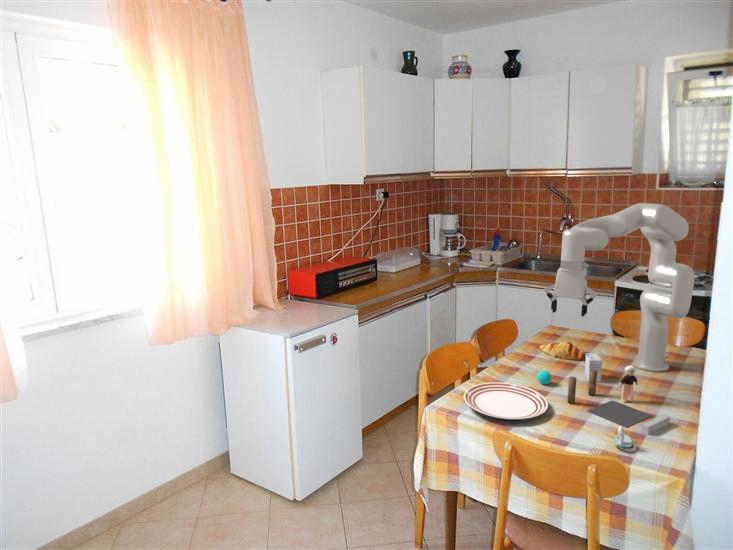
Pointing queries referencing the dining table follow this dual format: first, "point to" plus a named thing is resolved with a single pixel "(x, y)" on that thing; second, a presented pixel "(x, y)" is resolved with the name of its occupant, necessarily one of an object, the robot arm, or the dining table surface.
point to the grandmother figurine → (628, 385)
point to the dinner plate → (505, 400)
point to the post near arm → (592, 382)
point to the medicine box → (593, 365)
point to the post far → (571, 390)
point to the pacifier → (623, 440)
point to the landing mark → (619, 413)
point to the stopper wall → (655, 424)
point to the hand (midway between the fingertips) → (568, 313)
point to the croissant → (563, 350)
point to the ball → (544, 377)
